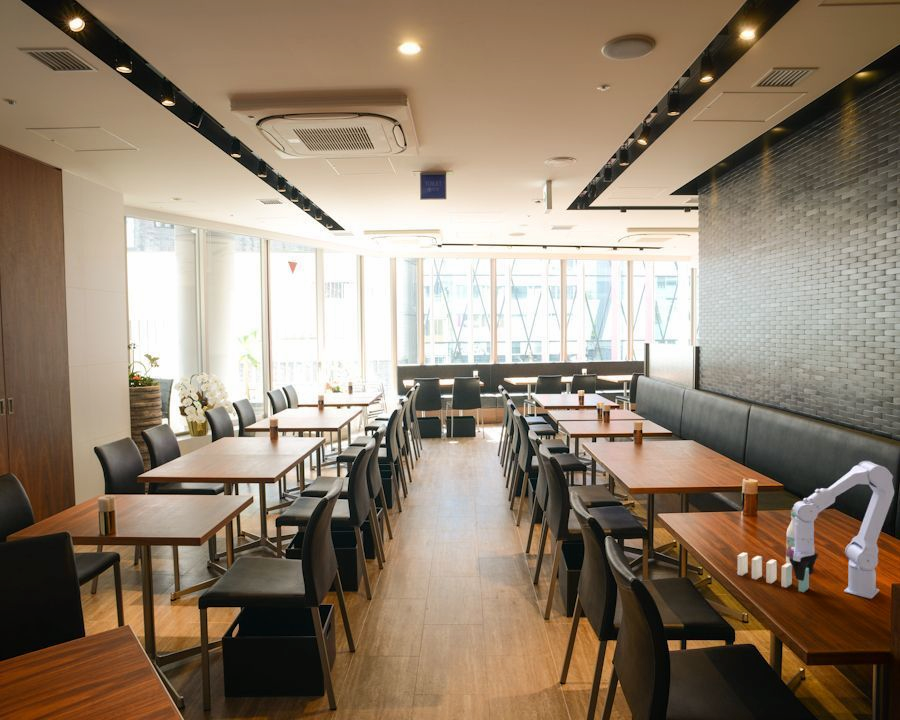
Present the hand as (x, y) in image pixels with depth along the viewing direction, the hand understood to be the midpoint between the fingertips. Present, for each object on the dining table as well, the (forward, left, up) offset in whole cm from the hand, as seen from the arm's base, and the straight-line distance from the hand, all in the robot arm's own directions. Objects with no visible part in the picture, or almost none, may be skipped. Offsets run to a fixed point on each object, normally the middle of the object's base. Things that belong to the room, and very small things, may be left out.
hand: (803, 576), depth 211 cm
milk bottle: (-24, -10, -5) cm, 26 cm away
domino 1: (0, -20, -4) cm, 21 cm away
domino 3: (0, -10, -4) cm, 11 cm away
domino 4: (0, -6, -4) cm, 7 cm away
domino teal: (0, 0, -4) cm, 5 cm away
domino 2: (0, -16, -4) cm, 16 cm away
